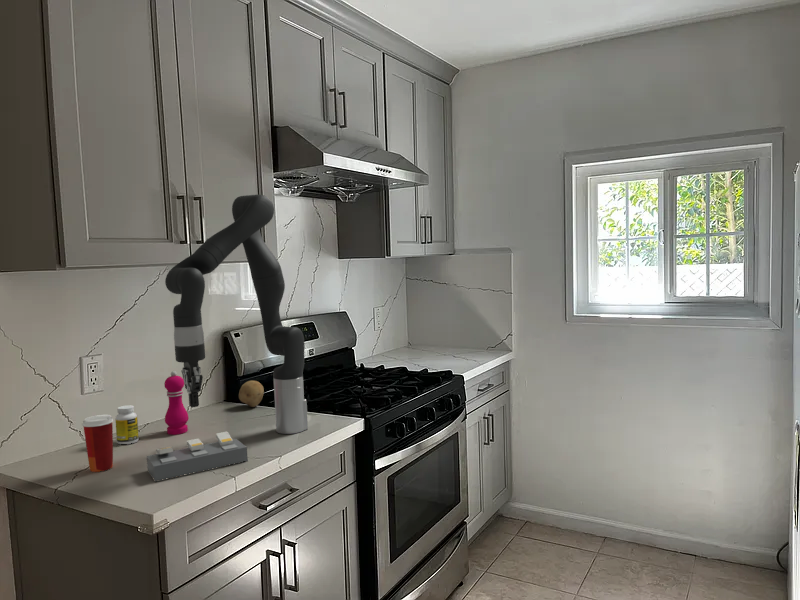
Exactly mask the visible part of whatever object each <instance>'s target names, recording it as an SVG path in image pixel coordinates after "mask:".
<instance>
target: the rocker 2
mask: <svg viewBox="0 0 800 600" xmlns="http://www.w3.org/2000/svg"><path fill="white" fill-rule="evenodd" d="M215 438H216V440H217V442H219V443H220V445H221V446H226V445H231V444H233V439H234V438H232V437H231V435H230V433H229V432H228V431H222V432H216V433H215Z"/></svg>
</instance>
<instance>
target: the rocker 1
mask: <svg viewBox="0 0 800 600" xmlns="http://www.w3.org/2000/svg"><path fill="white" fill-rule="evenodd" d="M173 451H174V449H173V446H167V447H163V448H158V449H156V450H155V454H164V453H169V452H173Z"/></svg>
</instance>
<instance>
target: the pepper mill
mask: <svg viewBox="0 0 800 600" xmlns="http://www.w3.org/2000/svg"><path fill="white" fill-rule="evenodd" d="M177 374H178V373H177V371H176V370H173V371H171V372H170V375H171V376H168V377H167V378H166V379H165V381H164V389H165V390H167V391H166V397H167V398H168V406H167V409H166V413H165V414H164V415H165V416H164V422H165V424H166V425H167V427H166V430H167V433H166V434H168V435H169V436H174V435H175V436H176V435H182V434H186V433H188V431H189V429H188V427H189V426H188V424H187V422H188V421H189V414H188V411H187V409H186V408H185V406H184V404H183V395H184V390H183V388H185V384H184V380H183V376H179V375H177Z"/></svg>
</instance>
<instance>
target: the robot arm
mask: <svg viewBox="0 0 800 600" xmlns="http://www.w3.org/2000/svg"><path fill="white" fill-rule="evenodd" d="M231 213H232V217H233V222H231V224H229V225H227V226H226V227H224V228H223V229H220V230H219V231H218V232H216V233H215V234H213V235H211V236H210V237H209V238H207V240H205V241H204V242H203V243H201V245H200V246H199V247H198V248H197V249H196V250H195V251H194V252H193V253H192V254H191V255H189V256H188V257H185V258H184V259H182V260H181V261H180V262H179V263H178V262H177V264H175V265H174V266H173V267H171V269H170V270H169V271H168V272H167V274H166V275H165V276H166V277H165V281H164V282H165V283H164V284H165V286H166V287H165V288H166V289H167V290H168V291H169V292H170V293H172V294H175V295H180V296H181V297H180V303H178V304H176V305H175V306H173V311H172V316H173V327H174V328H173V341H174V353H175V354H174V355H175V357H174V358H175V362H177V363H181V364H182V363H183V366H182V367H181V371H180V372H181V375H182V378H183V380H184V389H185V390H186V392H187V393H188V405H189V406H190V408H196V407H197V408H198V407H199V405H200V400H199V393H200V392H201V390H202V384H203V378H204V376H203V374H201V373H202V369H201V367H200V366H199V361H203V360H205V359H206V348H205V335H204V334H205V333H204V329H203V319H202V305H203V301H204V294H205V289H206V281H205V277H204V275H207V274H210V273H212V272H214V271H215V270H216V269H217V268H218V267H219V266H220V265H221V264H222V262H223V261H224V260H226V258H227V257H229V255H231V254H232V252H233V251H235V250H236V249H237V248H238V247H239V246H240V245H241V244H242V246H243V249H244V253H245V256H246V260H247V263H248V268H249V271H250V277H251V280H252V284H253V287H254V290H255V294H256V298H257V301H258V306H259V310H260V315H261V321H262V328H263V335H264V340H265V344H266V347H267V350H268V352H269V353H270V354H271V355H274V356H283V363H282V364H281V365H280V366H277V367H275V368H274V369H273V370H272V371H273V373H272V376H273V379H272V380H273V394H274V395H273V396H274V413H275V428H276V429H275V430H276V432H277V433H279V434H285V435H290V434H299V433H301V432H303V431H305V430H308V429H309V427H308V405H307V403H308V401H307V399H306V398H305V396H304V395H305V393H304V391H305V390H304V374H303V372H304V369H305V346H306V345H305V337H304V333H303V331H302V330H301V329H300V328H299V327H297V326H284V325H283V324H282V319H281V315H280V308H281V307H280V306H281V303H282V300H283V297H284V293H285V290H286V289H285V288H286V285H285V279H284V274H283V271H282V267H281V265H280V262H279V260H278V258H277V257H276V256H275V255H274V253H273V252H272V251H271V249H270V248H269V247H268V246H267V244H266V243H265V241H264V238H263V236H262V234H261V229H263V228H264V227H265V226H267V225H268V224H269V223H270V222H271V221H272V219H273V218H274V213H275V207H274V203H273V201H272V200H271V199H270V198H269V197H268V196H267V195H264V194H250V195H249V194H247V195H240V196H238V197H237V196H236V198H234V201H233V203H232V207H231Z"/></svg>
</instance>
